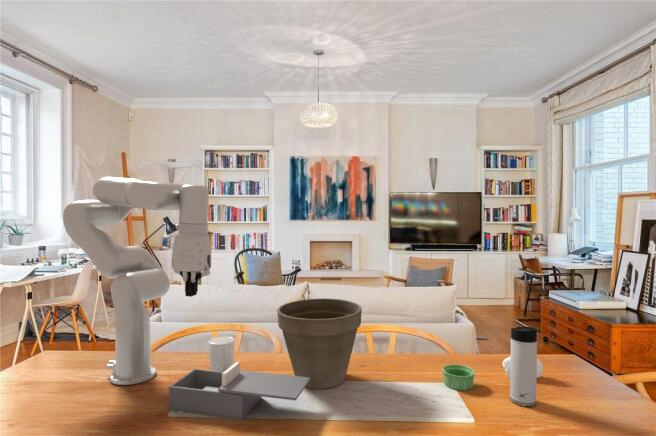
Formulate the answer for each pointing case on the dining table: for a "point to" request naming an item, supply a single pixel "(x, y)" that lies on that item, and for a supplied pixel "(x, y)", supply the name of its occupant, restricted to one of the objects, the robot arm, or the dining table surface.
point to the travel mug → (523, 365)
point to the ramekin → (458, 377)
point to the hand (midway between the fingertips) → (191, 295)
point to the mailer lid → (262, 383)
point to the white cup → (221, 353)
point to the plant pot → (320, 338)
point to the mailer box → (208, 396)
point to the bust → (507, 367)
